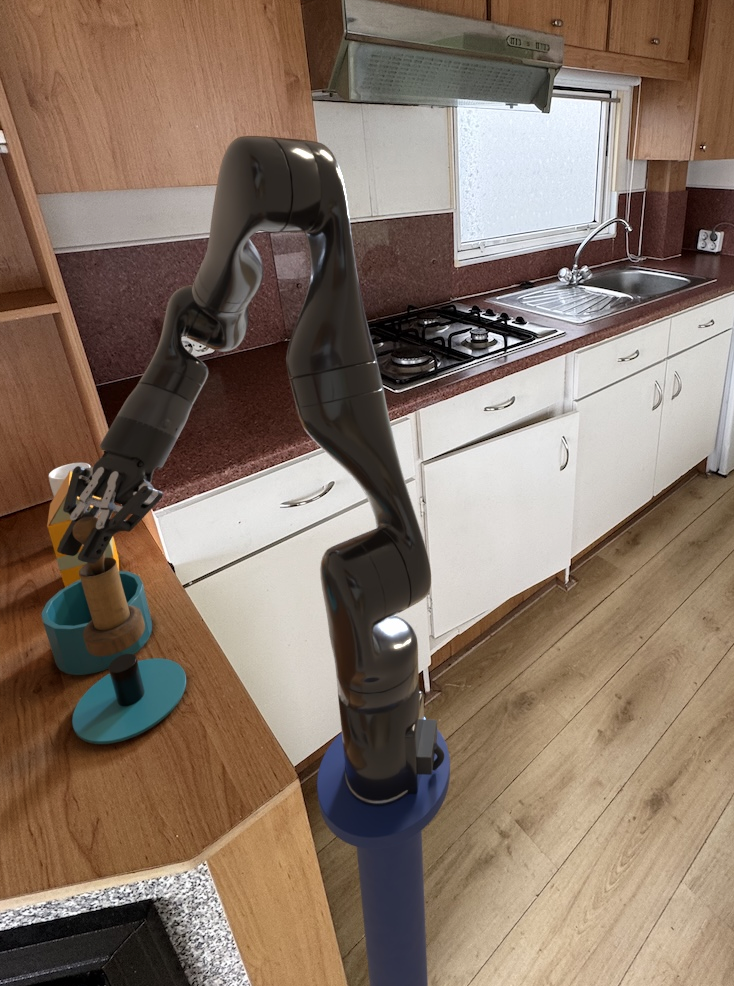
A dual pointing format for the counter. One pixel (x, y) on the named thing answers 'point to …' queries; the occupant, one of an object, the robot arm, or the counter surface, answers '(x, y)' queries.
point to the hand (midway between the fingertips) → (76, 557)
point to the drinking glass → (62, 475)
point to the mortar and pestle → (106, 602)
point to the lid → (128, 699)
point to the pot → (71, 617)
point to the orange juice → (57, 529)
